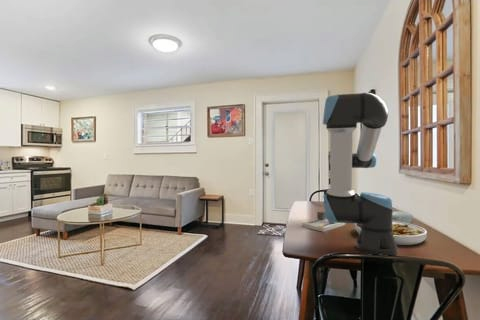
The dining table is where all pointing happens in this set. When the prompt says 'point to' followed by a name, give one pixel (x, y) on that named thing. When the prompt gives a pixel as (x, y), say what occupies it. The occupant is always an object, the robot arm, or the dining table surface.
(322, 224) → the switch board
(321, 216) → the tab charcoal
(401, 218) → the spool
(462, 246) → the dining table surface
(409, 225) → the bowl
